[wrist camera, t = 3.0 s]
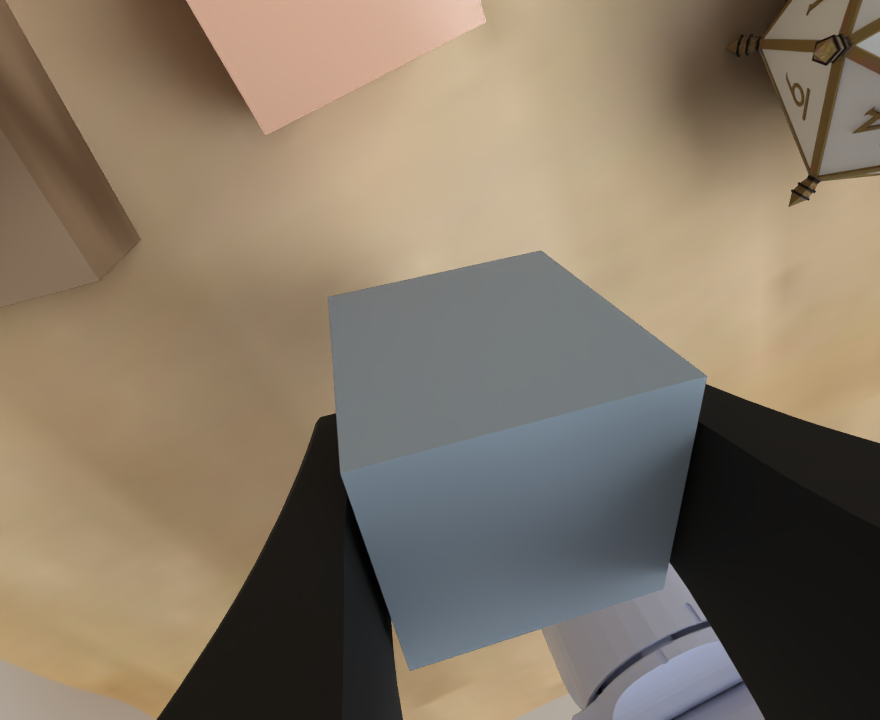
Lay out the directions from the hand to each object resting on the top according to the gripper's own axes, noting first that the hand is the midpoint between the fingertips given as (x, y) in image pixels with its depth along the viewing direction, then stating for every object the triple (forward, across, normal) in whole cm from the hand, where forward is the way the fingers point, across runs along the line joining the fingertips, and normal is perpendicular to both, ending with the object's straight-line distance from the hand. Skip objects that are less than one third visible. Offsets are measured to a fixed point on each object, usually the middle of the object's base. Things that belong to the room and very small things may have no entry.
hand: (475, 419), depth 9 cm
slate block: (+2, 0, 0) cm, 2 cm away
